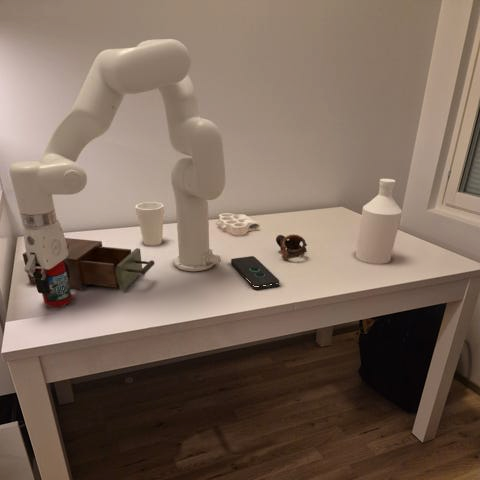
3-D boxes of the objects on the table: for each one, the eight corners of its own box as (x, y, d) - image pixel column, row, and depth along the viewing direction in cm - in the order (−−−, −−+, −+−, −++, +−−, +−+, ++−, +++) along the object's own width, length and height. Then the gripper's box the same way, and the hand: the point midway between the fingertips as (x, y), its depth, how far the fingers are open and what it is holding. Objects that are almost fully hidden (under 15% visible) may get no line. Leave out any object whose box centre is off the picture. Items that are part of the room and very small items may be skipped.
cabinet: (106, 269, 128) (101, 241, 123) (82, 289, 116) (76, 259, 111) (58, 264, 131) (52, 236, 126) (30, 283, 119) (22, 254, 114)
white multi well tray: (263, 232, 159) (227, 237, 154) (244, 219, 173) (210, 223, 168) (263, 224, 157) (227, 228, 152) (244, 211, 171) (210, 214, 166)
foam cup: (133, 244, 146) (129, 207, 139) (148, 236, 154) (145, 200, 147) (157, 248, 143) (154, 211, 136) (171, 240, 151) (168, 204, 144)
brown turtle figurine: (311, 255, 142) (313, 239, 135) (295, 273, 139) (296, 258, 131) (282, 239, 146) (283, 223, 139) (266, 256, 143) (266, 241, 136)
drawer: (159, 273, 124) (157, 250, 121) (142, 292, 113) (139, 268, 110) (96, 266, 128) (92, 244, 124) (73, 284, 117) (68, 260, 113)
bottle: (362, 247, 147) (375, 174, 134) (396, 255, 142) (413, 179, 129) (349, 258, 139) (361, 180, 126) (384, 267, 133) (401, 187, 120)
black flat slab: (254, 285, 117) (229, 258, 133) (253, 290, 117) (229, 263, 133) (280, 280, 119) (254, 255, 135) (280, 286, 120) (253, 260, 136)
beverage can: (54, 311, 105) (43, 267, 99) (39, 303, 109) (28, 260, 103) (77, 301, 110) (69, 259, 104) (62, 294, 114) (53, 252, 107)
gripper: (30, 231, 90) (48, 302, 99) (73, 209, 105) (85, 273, 114) (-1, 228, 91) (19, 299, 100) (46, 206, 106) (60, 270, 115)
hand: (54, 285), depth 107 cm, fingers open, 8 cm apart
